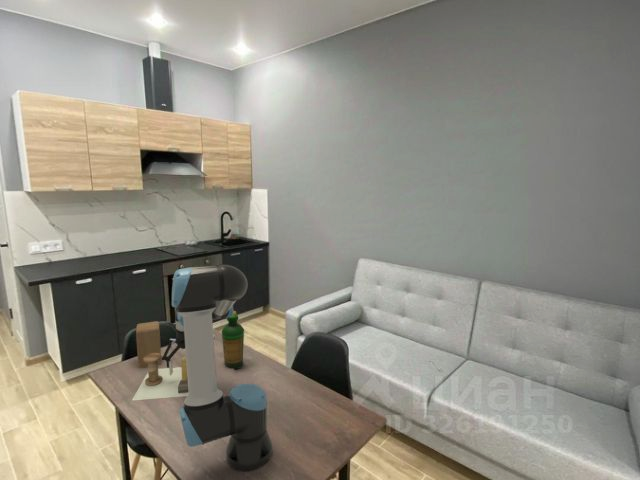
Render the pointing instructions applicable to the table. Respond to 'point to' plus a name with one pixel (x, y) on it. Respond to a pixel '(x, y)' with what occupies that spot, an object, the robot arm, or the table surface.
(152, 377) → the bobbin
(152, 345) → the wooden block
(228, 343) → the bottle
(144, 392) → the board
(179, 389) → the notch board
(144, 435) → the table surface
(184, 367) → the yellow rectangular block
